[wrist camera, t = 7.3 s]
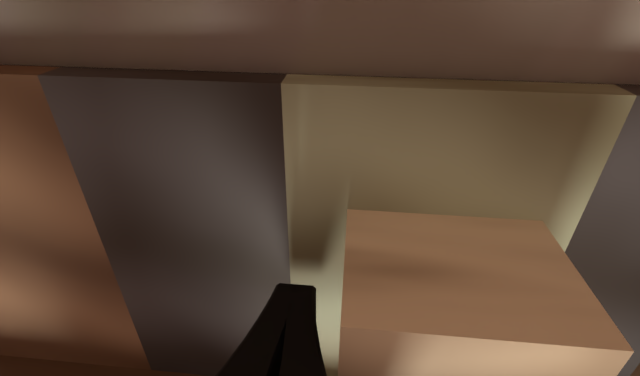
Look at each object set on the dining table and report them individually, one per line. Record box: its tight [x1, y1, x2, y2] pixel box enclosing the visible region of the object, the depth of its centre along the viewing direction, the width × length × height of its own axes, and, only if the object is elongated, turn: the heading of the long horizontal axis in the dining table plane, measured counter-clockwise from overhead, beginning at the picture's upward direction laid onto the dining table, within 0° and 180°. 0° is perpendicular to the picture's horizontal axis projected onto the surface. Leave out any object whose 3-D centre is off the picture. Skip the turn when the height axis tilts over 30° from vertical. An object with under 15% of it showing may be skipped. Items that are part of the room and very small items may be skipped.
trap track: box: [0, 65, 640, 376], centre depth 14 cm, size 16×32×3 cm, turn 90°
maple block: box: [338, 209, 634, 376], centre depth 11 cm, size 6×6×4 cm
